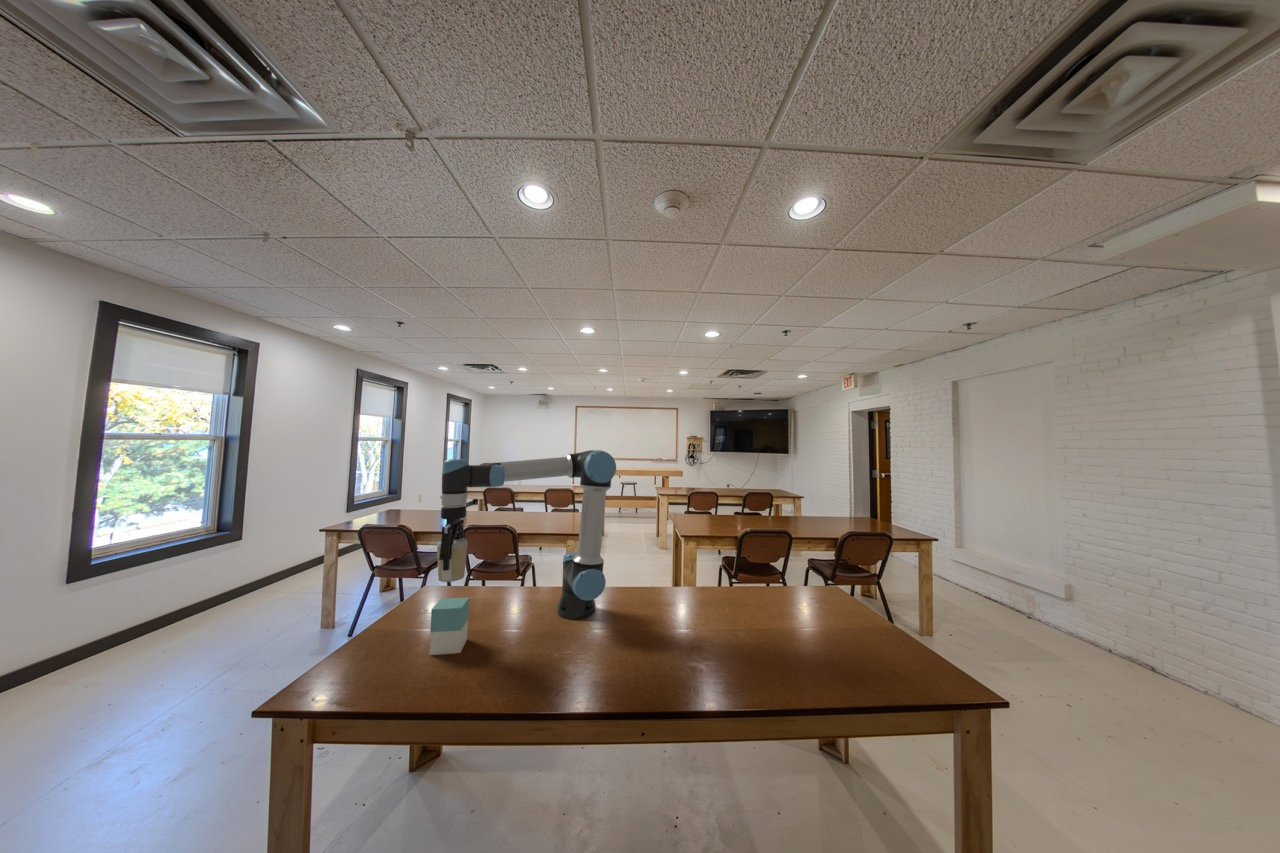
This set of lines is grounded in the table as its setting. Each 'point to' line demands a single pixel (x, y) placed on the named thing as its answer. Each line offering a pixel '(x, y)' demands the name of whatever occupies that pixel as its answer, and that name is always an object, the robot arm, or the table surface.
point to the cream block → (448, 641)
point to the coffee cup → (454, 559)
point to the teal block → (449, 614)
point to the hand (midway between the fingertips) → (451, 575)
